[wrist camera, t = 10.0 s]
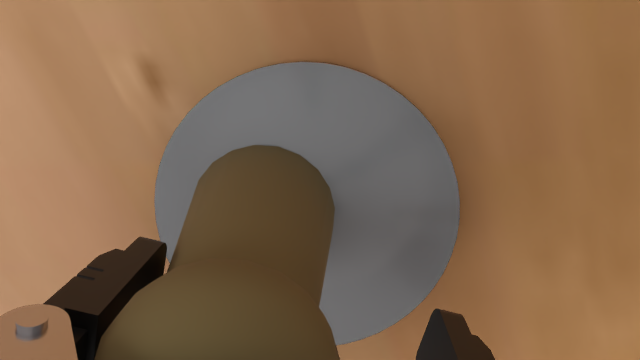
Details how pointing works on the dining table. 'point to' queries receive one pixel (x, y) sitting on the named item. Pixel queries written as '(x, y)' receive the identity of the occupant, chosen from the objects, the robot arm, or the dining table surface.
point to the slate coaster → (334, 180)
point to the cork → (239, 269)
